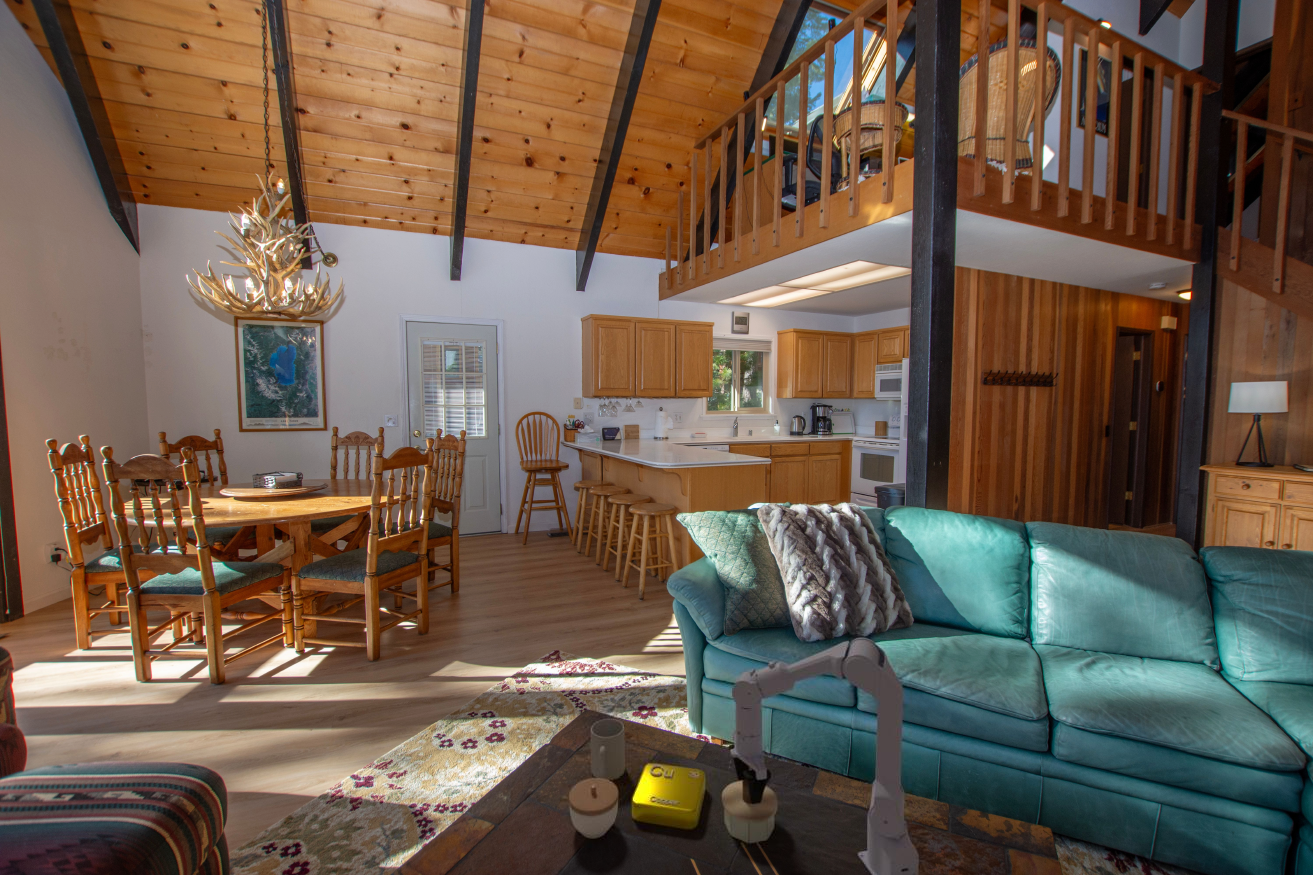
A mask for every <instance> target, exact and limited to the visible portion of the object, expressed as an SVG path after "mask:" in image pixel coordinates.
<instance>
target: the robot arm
mask: <svg viewBox="0 0 1313 875" xmlns="http://www.w3.org/2000/svg"><path fill="white" fill-rule="evenodd" d="M829 673H830V675H831V674H832V676H835V677H836V678H837V679H839V680H841V681H844V677H845V678H846V680H847V681H848V682H849V683H850V684H852V685H853V686H854V687H856V688H858V689H859V690H861V691H863V692H866V693H867V694H869V695H871V696H872V697H873V698H874V699H876V701H877V716H876V717H877V718H876V720H877V721H876V748H875V749H876V750H875V754H876V755H875V756H876V757H875V779H874V780H873V782H872V784H871V797H870V807H869V810H868V813H867V823H866V824H867V832H866V834H867V835H866V836H867V837H866V838H867V840H866V841H867V842H866V843H867V844H866V845H867V850H863V851H859V852H857V856H858V857H859V859H860V861H862V863H863V864H864V866H865V868H867V870H868V872H869V873H870V874H871V875H919V866H920V865H919V864H920V862H919V859H920V858H919V852H918V850H917V849H916V847H915V846H914V844H913V843H912V841H911V839H910V835H909V832H908V824H907V821H906V820H905V819H906V818H905V801H906V792H905V790H904V788H903V785H902V783H901V781H902V780H901V779H902V778H901V777H902V776H901V770H902V769H901V768H902V766H901V765H902V741H903V739H902V738H903V712H904V711H903V709H904V704H903V703H904V688H903V687H904V686H903V685H902V683H901V681H900V679H899V678H898V676H897V674H896V672H895V671H894V669H893V667H892V666H891V664H890V661H889V659H888V656H887V655H886V652H885V650H883V649H882V648H881V646H879V645H878V644H877V643H875V642H874V641H873V640H871V639H870V638H866V637H857V638H854V639H853V640H851V642H850V641H849V640H847V641H843V642H840V643H839V644H837V645H834V646H832V647H830V648H828V649H826V650H825V649H824V650H823V651H820V652H818V653H816V654H813V655H811V656H808V657H805V658H803V659H801V660H799V661H797V662H793V663H792V664H788V663H786V662H784V661H779V662H776V661H775V660H772V661H770V662H769V663H768V665H767V666H765V667H762V668H759V669H755V668H753V669H751V670H747V671H744V672H742V673H741V674H740V676H739V677H738V678H737V680H736V681H735V683H734V684H733V687H732V690H731V696H732V698H733V701H734V702H735V709H734V712H735V713H734V716H735V720H734V723H735V724H734V725H735V726H734V727H735V730H734V731H733V730H732V741H733V742H734V743H733V744H729V745H728V748H727V749H728V750H729V754H730V755H731V757H732V760H733V764H734V769H735V775H736V777H737V778H736V779H737V780H738V781H743V780H745V779H746V781H747V784H748V789H749V797H750V801H751V803H752V804H757V803H761V800H762V797H763V793H764V789H765V787H766V786H767V785H768V783H769V782H770V780H771V778H772V773H771V771H770V770H769V769H767V768H766V766H765V757H764V756H765V755H764V749H763V708H762V705H763V704H762V700H765V699H768V698H771V697H775V696H777V695H780V694H783V693H786V692H789V691H792V690H793V689H794V687H795V684H796V683H797V682H800V681H804V680H806V679H811V678H814V677H818V676H822V675H825V674H829ZM750 769H751V770H750Z"/></svg>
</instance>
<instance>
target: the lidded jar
mask: <svg viewBox="0 0 1313 875" xmlns="http://www.w3.org/2000/svg"><path fill="white" fill-rule="evenodd" d="M568 803H569V813H570V818H571V823H572V824H573V826H574V827H575V829H576V830H577V831H578V832H579V833H580V834H581V835H582V836H583V837H585V838H588V839H598V838H601V837H603V836H604V835H606V833H607V832H608V831H609V830H610V829H611V827H612V826H613V824H614V823H615V821H616V818H617V814H618V808H619V788H618V786H617V785H616V784H615V783H614V782H613V781H612V780H611V781H609V780H607V779H604V778H595V777H591V778H586V779H583V780H581V781H578V782H577V783H576V784H575V785H573V787H572V788H571V789H570V791H569V794H568Z"/></svg>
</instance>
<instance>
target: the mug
mask: <svg viewBox="0 0 1313 875" xmlns="http://www.w3.org/2000/svg"><path fill="white" fill-rule="evenodd" d="M625 740H626V738H625V726H624V723H623V722H622V721H620V720H617V719H614V718H606V719H600V720H598V721H596V722H594V723H593V724H592V726H591V728H590V763H591V764H590V770H591V774H593V775H592V776H593V778H595V777H596V778H604V779H607V780H609V781H610V780H611V781H615V780H618V779H620V778H621V777H622V776H623V775H624V773H625V771H626V754H625V752H626V749H625V748H626V747H625V745H626V744H625V742H626V741H625ZM620 776H621V777H620ZM614 779H615V780H614Z"/></svg>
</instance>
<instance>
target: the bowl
mask: <svg viewBox="0 0 1313 875" xmlns="http://www.w3.org/2000/svg"><path fill="white" fill-rule="evenodd" d="M723 812H724V813H723V814H724V816H723V817H724V818H723V819H724V820H723V821H724V824H725V826H726V828H727V831H728V832H729V836H731V837H733V838H735V839H738V840H740V841H743V842H745V843H747V844H753V843H758V842H763V841H767V840H769V837H771V835H772V833H773V830H774V829H775V815H774V816H773V817H771V818H770V819H768V820H766V821H763V822H757V823H751V822H744V821H741V820H738V819H736V818H734V817H732V816H731V815H730V814H728V813H727V812H726V810H725V809H724V808H723Z"/></svg>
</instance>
